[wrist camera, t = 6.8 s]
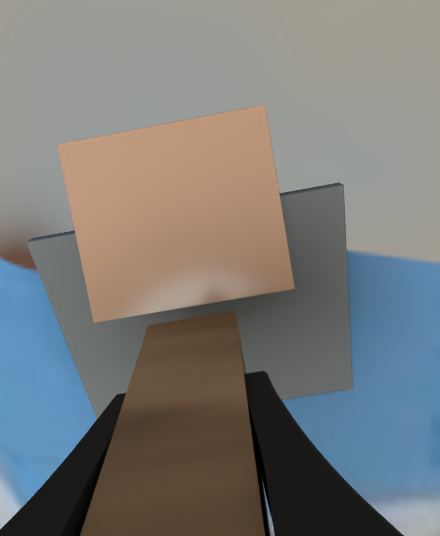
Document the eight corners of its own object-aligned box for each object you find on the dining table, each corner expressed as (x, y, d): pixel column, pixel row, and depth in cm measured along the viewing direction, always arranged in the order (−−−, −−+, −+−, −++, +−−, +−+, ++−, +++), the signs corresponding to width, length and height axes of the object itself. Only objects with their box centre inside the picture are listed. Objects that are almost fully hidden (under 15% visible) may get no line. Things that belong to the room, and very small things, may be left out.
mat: (348, 381, 20) (352, 388, 19) (103, 419, 20) (100, 428, 20) (339, 182, 16) (343, 185, 15) (32, 238, 16) (26, 242, 16)
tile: (294, 288, 14) (264, 104, 13) (93, 322, 14) (57, 144, 14) (288, 284, 15) (261, 118, 15) (106, 314, 16) (74, 153, 15)
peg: (248, 381, 14) (303, 764, 6) (168, 394, 14) (103, 786, 6) (235, 310, 13) (281, 656, 4) (148, 325, 13) (30, 688, 4)
